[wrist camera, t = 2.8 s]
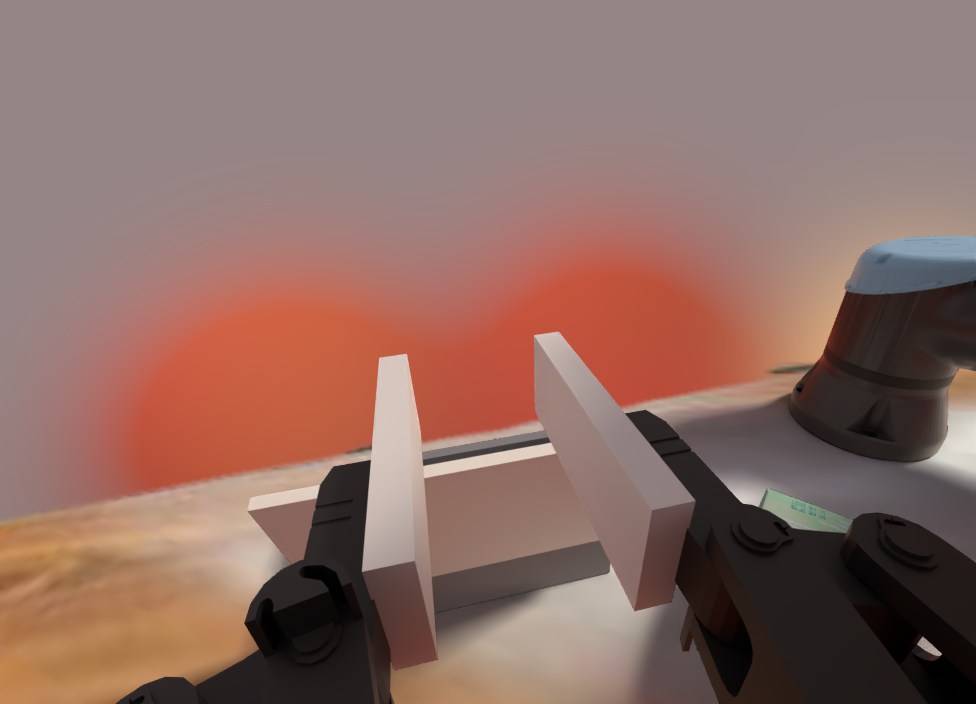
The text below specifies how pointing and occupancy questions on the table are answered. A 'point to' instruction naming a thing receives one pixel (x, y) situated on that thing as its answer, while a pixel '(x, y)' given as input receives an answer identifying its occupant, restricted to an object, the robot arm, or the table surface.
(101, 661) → the table surface
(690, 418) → the table surface
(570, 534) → the cover
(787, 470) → the table surface
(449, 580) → the grey tray
